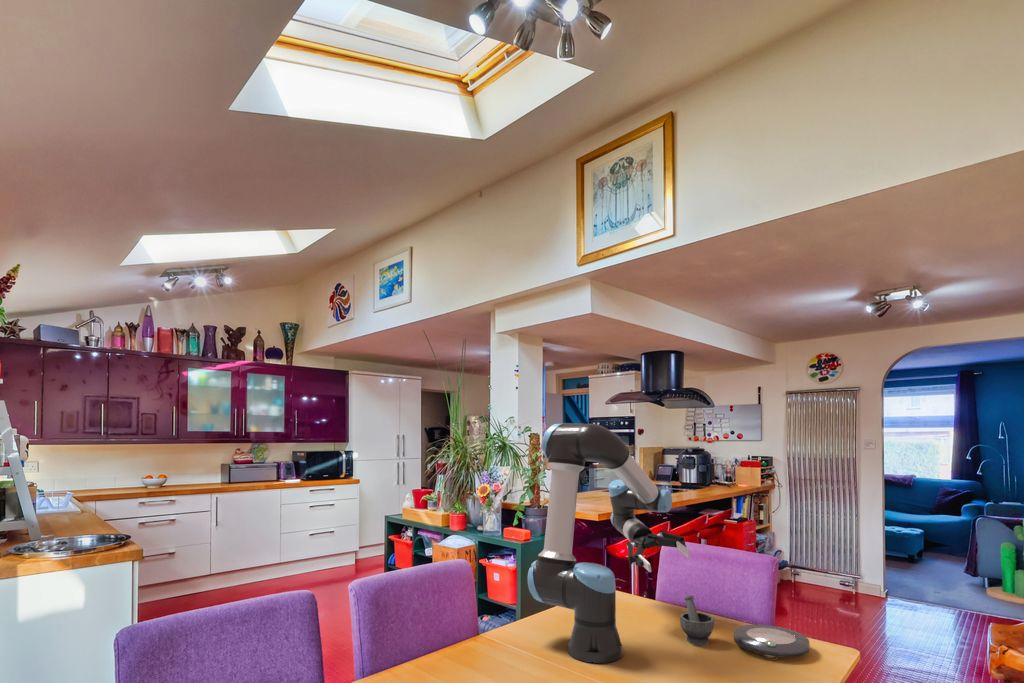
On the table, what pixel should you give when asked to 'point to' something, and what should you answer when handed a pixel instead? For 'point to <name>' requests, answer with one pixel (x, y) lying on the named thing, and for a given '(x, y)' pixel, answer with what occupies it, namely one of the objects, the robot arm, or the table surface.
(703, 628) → the mortar and pestle
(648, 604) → the table surface
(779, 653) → the base
